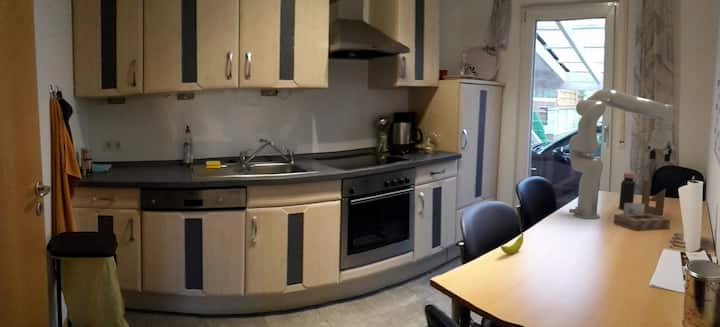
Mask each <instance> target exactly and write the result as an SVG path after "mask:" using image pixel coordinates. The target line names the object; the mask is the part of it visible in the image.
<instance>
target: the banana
mask: <svg viewBox="0 0 720 327" xmlns="http://www.w3.org/2000/svg"><path fill="white" fill-rule="evenodd" d="M524 235H525V234H524V233H522V234H521V235H520V236H518V238H517V239H516V241H515V242H514V243H513V244H511V245H508V246H506V245H501V246H500V250H502V252H503V253H504V254H507V255H511V254H516V253H517V252H519V250H520V249H521V247H522V246H523V243H524Z"/></svg>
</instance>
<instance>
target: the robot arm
mask: <svg viewBox="0 0 720 327" xmlns="http://www.w3.org/2000/svg"><path fill="white" fill-rule="evenodd" d="M606 107H611V108H613V109H618V110H620V111H624V112H627V113H630V114H631V113H634V114H640V115H641V116H642V117H644V118H647V119H655V122H654V129H653V131H652V134H651V137H650V141H648V142H647V143H646V144H647V148H648V151H649V159H650V160H656V154H657V153H656V151H657V150H660V151H663V150H664V152H665V153H664V159H663V161H664V162H666V163H667V162H668V163H669V162H670V161H671V155H672V154H673V153H674V152H675V149H676V145H675V144H673V133H672V132H673V131H672V127H673V126H672V125H673V117H674V116H673V115H674V105H673V104H668V103H667V104H666V103H662V102H659V101H656V100H652V99H648V98H643V97H640V96H636V95H632V94H629V93H626V92H623V91H619V90H615V89H605V88H603V89H599V90H597V91H595V92H593V93H591V94H590V95H588V96H586V97H584V98H582V99H580V101H578V102H577V103H576V107H575V110H576V113H577V114H578V115H579V116H581V117H580V119H579V121H578V123H577V133H575V134H574V135H572V136H571V137H570V139H569V141H568V151H569V159H570V160H569V161H570V166H571V168H572V169H573V170H574V171H576V172H578V173H582V175H581V176H580V179H579V182H578V183H579V184H578V193H577V194H578V197H577V206H575V208H570V209H568V212H569V214H570V213H571V214H573V216H575V217H577V218H579V219H580V218H581V219H588V220H597V219H600V218H601V215H600V214H599V213H598V206H599V196H600V195H599V191H600V182H601V176H602V173H603V169H604V163H603V161H602V159H600V158H599V157H597V156H595V155H593V154H594V153H597V151H598V148H599V143H598V135H597V125H598V124H597V123H598V122H599V120H600V118H601V117H602V116H604V114H605V112H606V111H607V110H606Z"/></svg>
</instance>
